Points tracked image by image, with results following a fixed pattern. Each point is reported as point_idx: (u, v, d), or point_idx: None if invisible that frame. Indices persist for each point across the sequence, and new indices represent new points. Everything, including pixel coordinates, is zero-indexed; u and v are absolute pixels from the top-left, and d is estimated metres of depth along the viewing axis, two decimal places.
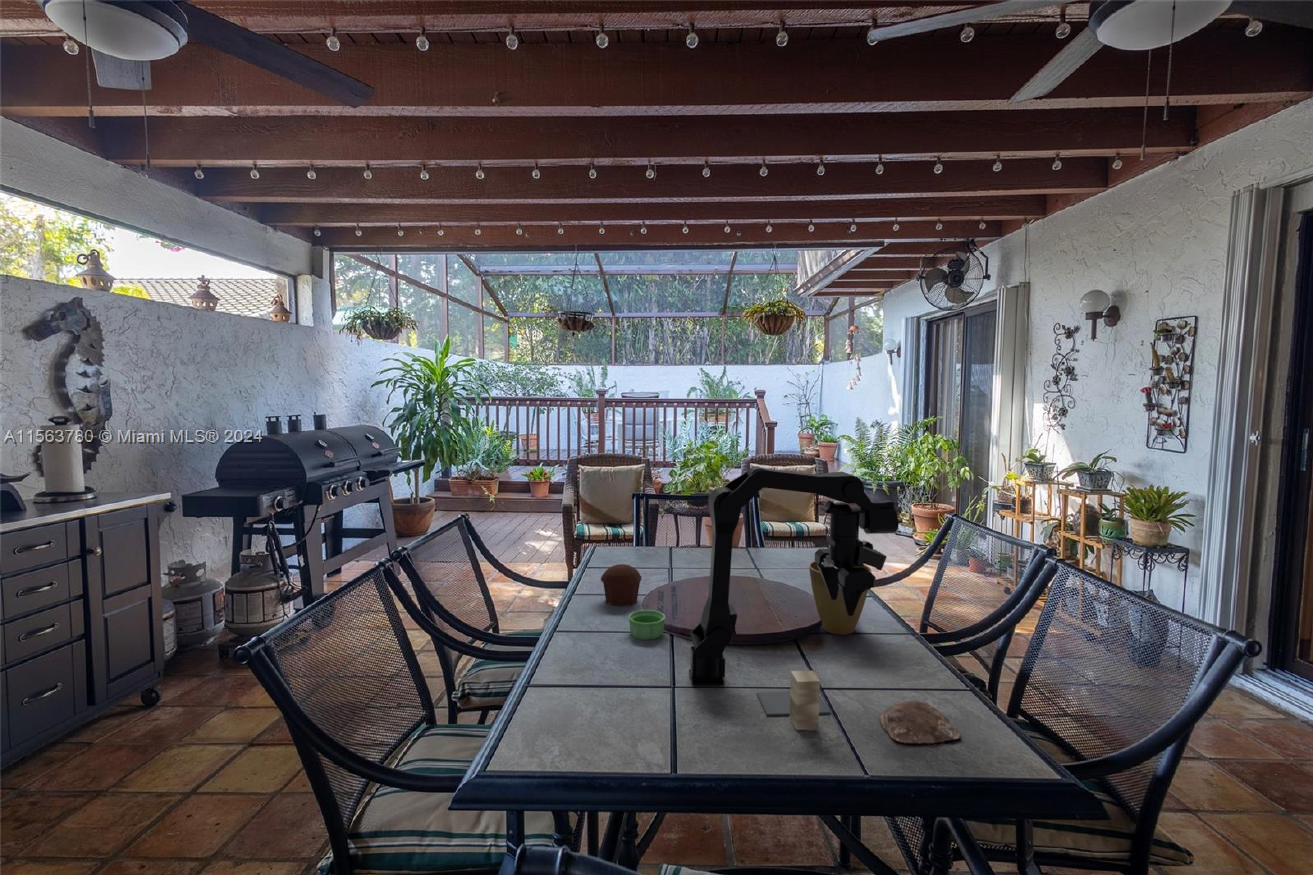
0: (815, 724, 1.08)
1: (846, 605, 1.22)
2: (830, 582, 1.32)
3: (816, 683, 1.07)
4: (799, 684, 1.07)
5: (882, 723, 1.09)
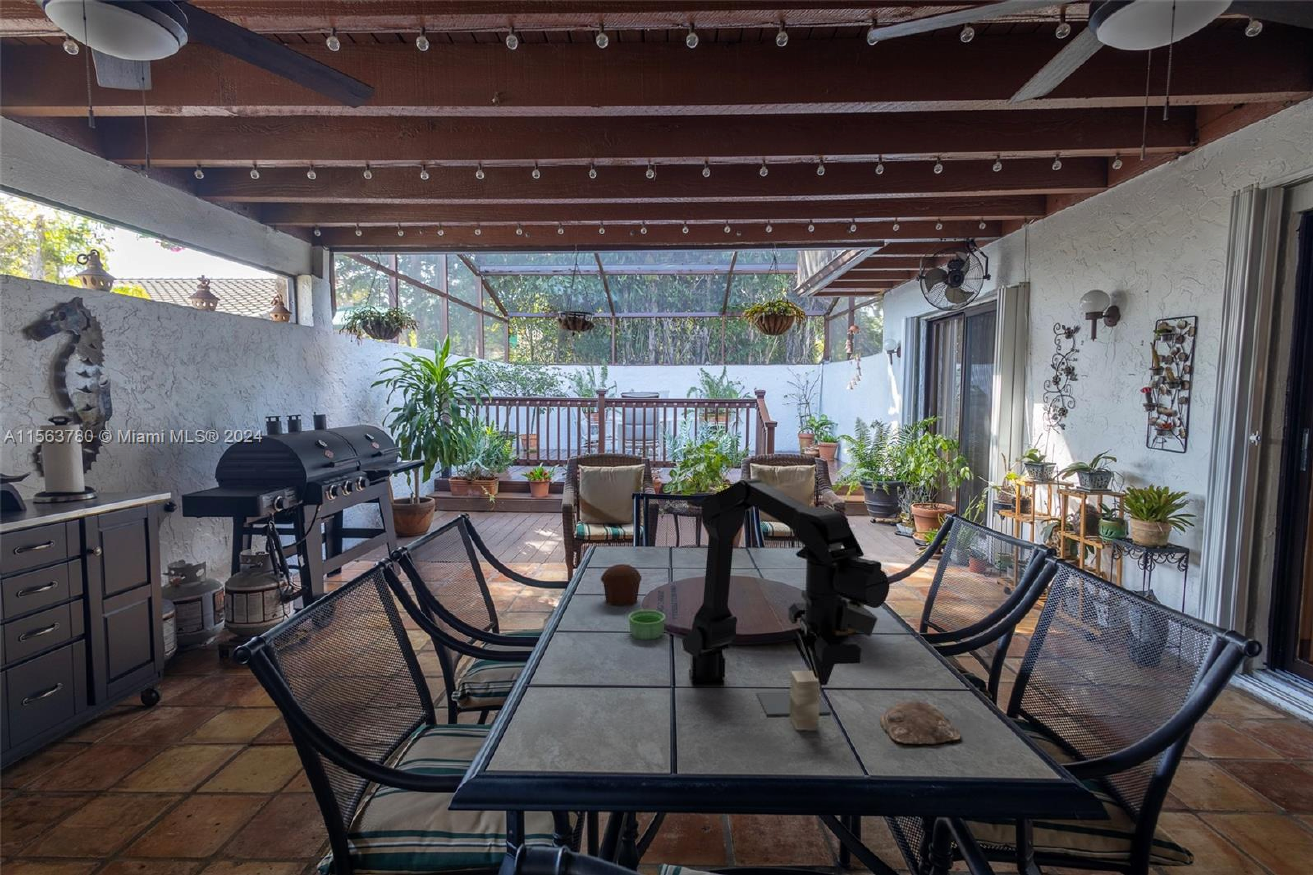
0: (815, 724, 1.08)
1: (818, 673, 0.99)
2: None
3: (816, 683, 1.07)
4: (799, 684, 1.07)
5: (882, 723, 1.09)
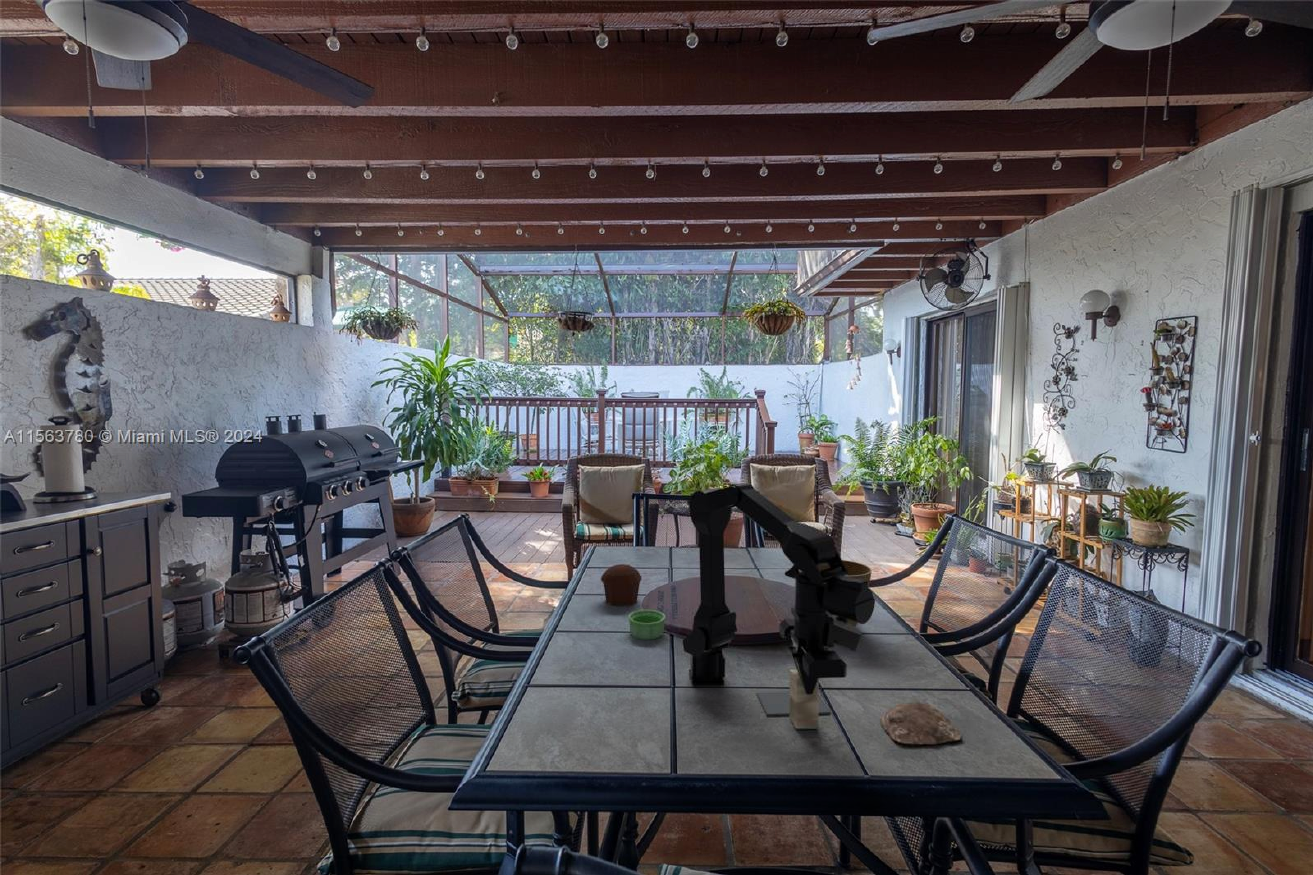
0: (815, 722, 1.08)
1: (804, 683, 1.05)
2: None
3: None
4: (798, 681, 1.08)
5: (883, 724, 1.09)
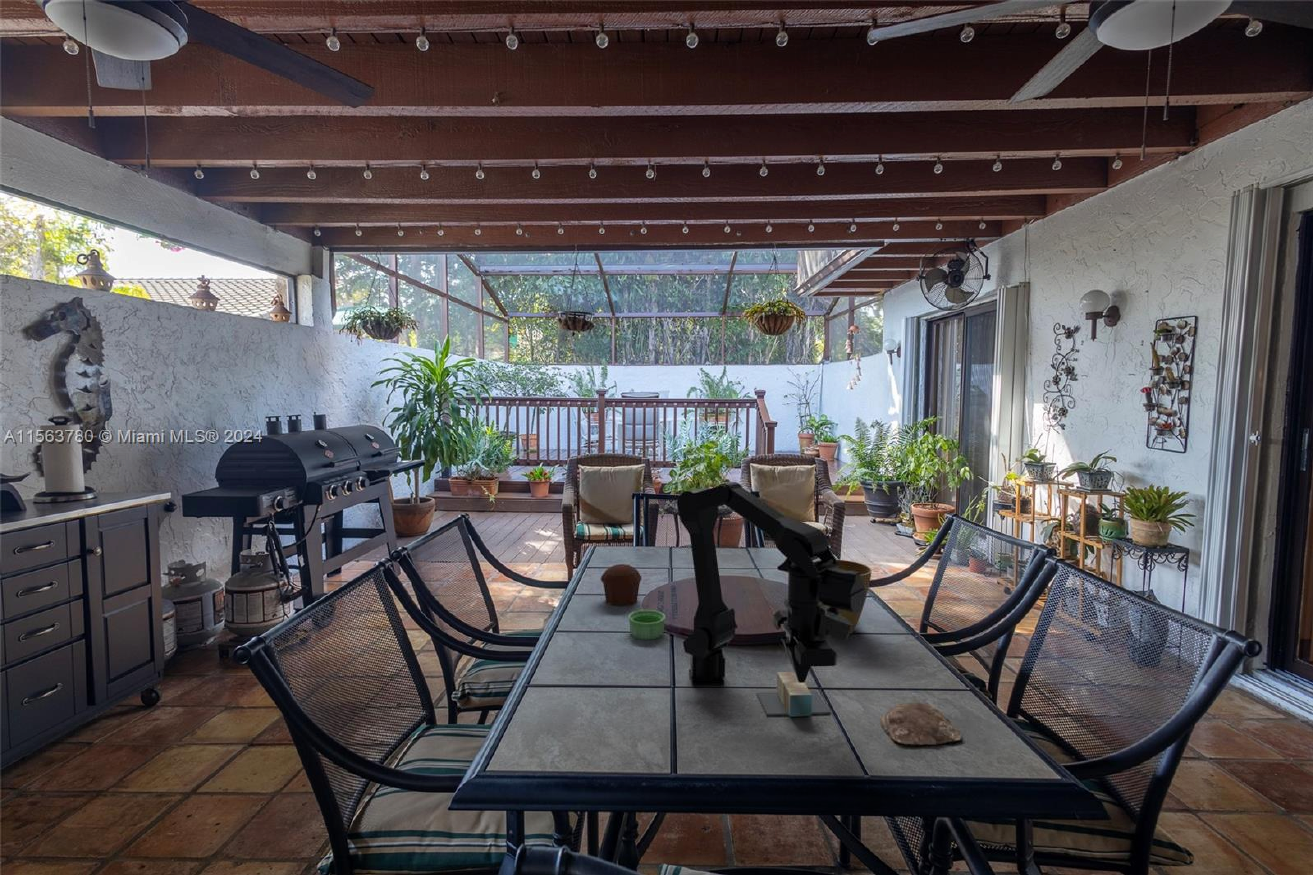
0: (807, 692, 1.13)
1: (796, 671, 1.10)
2: None
3: (794, 673, 1.20)
4: (779, 673, 1.20)
5: (883, 724, 1.09)
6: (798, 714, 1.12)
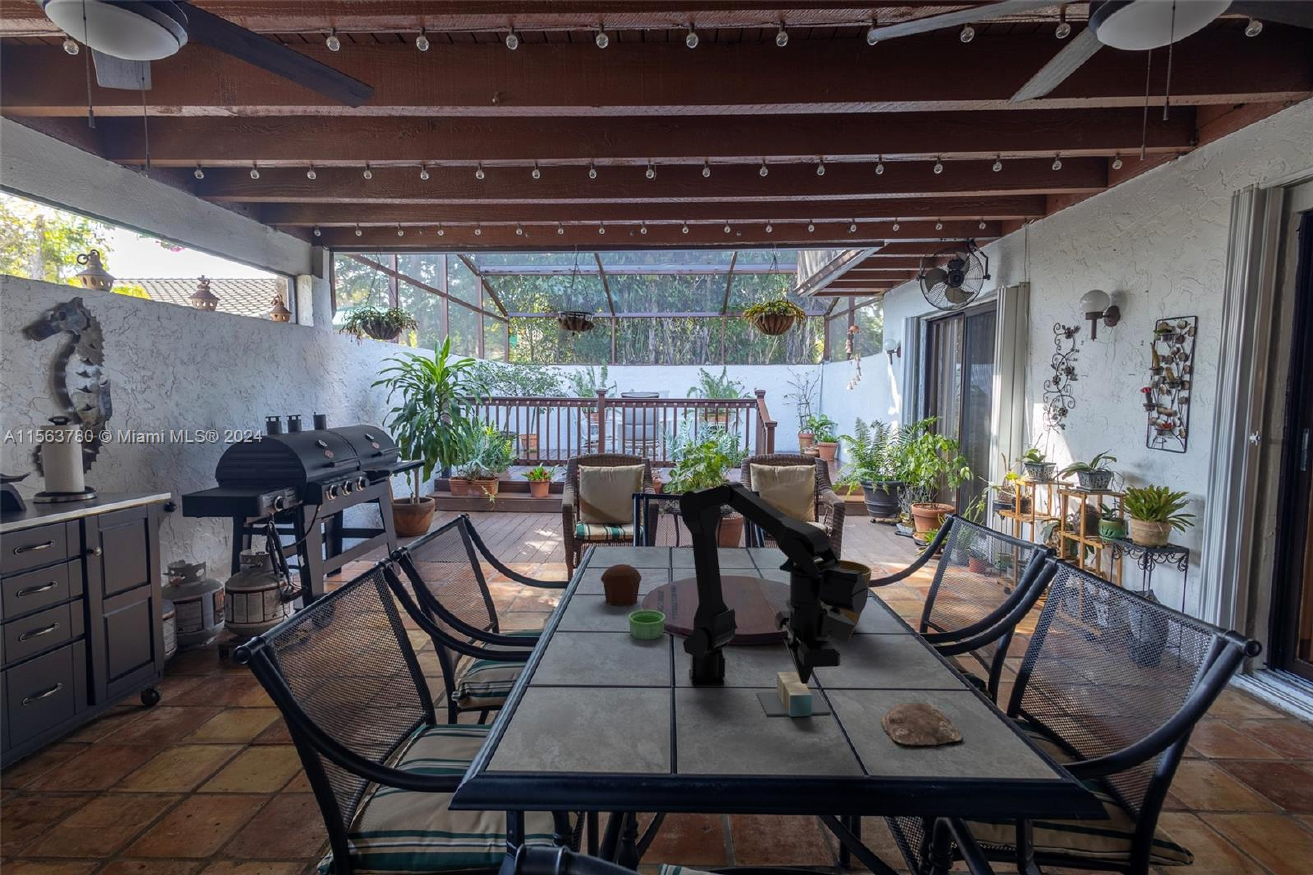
0: (807, 692, 1.13)
1: (799, 672, 1.09)
2: None
3: (794, 673, 1.20)
4: (779, 673, 1.20)
5: (884, 724, 1.09)
6: (798, 714, 1.12)
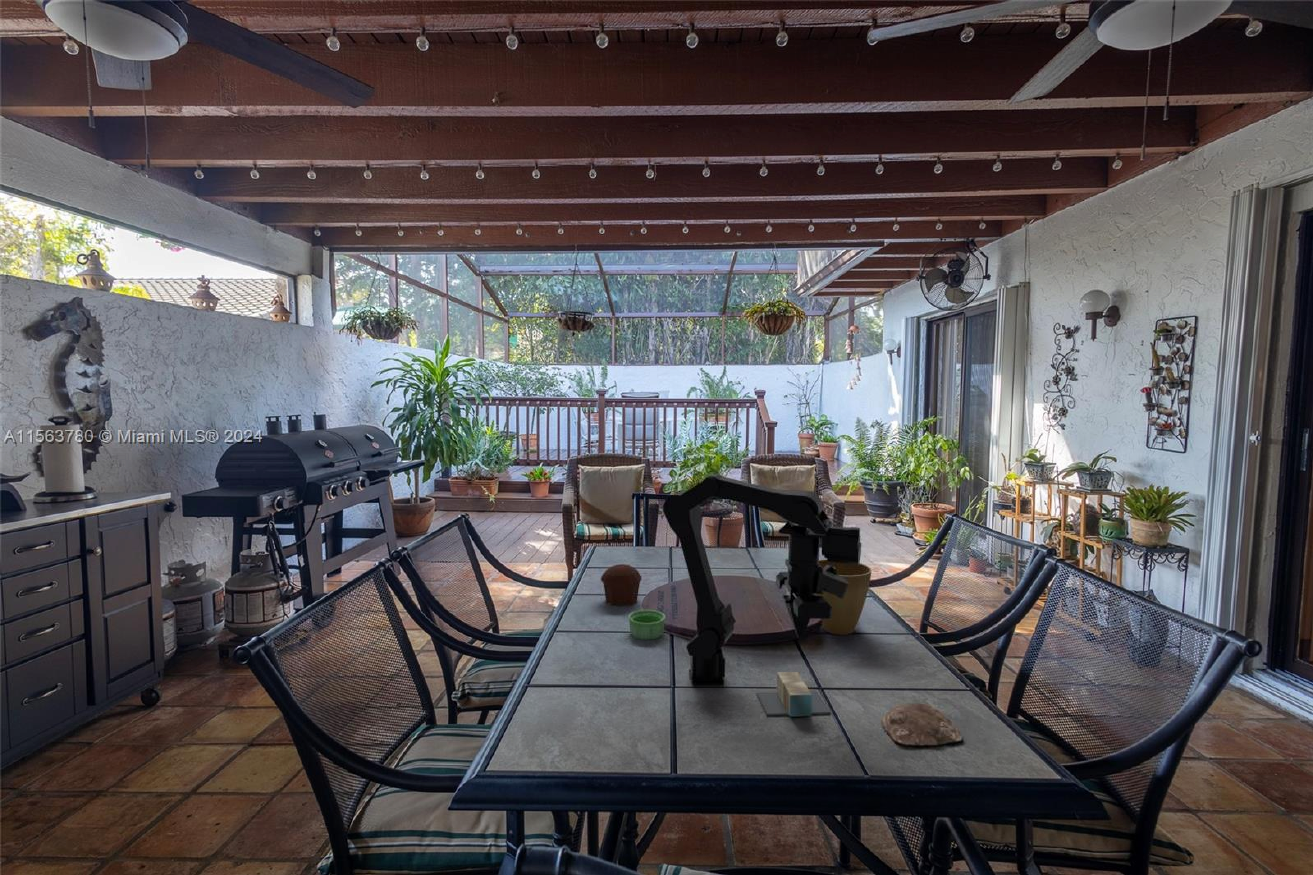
0: (807, 692, 1.13)
1: (796, 626, 1.17)
2: None
3: (794, 673, 1.20)
4: (779, 673, 1.20)
5: (884, 725, 1.09)
6: (798, 714, 1.12)
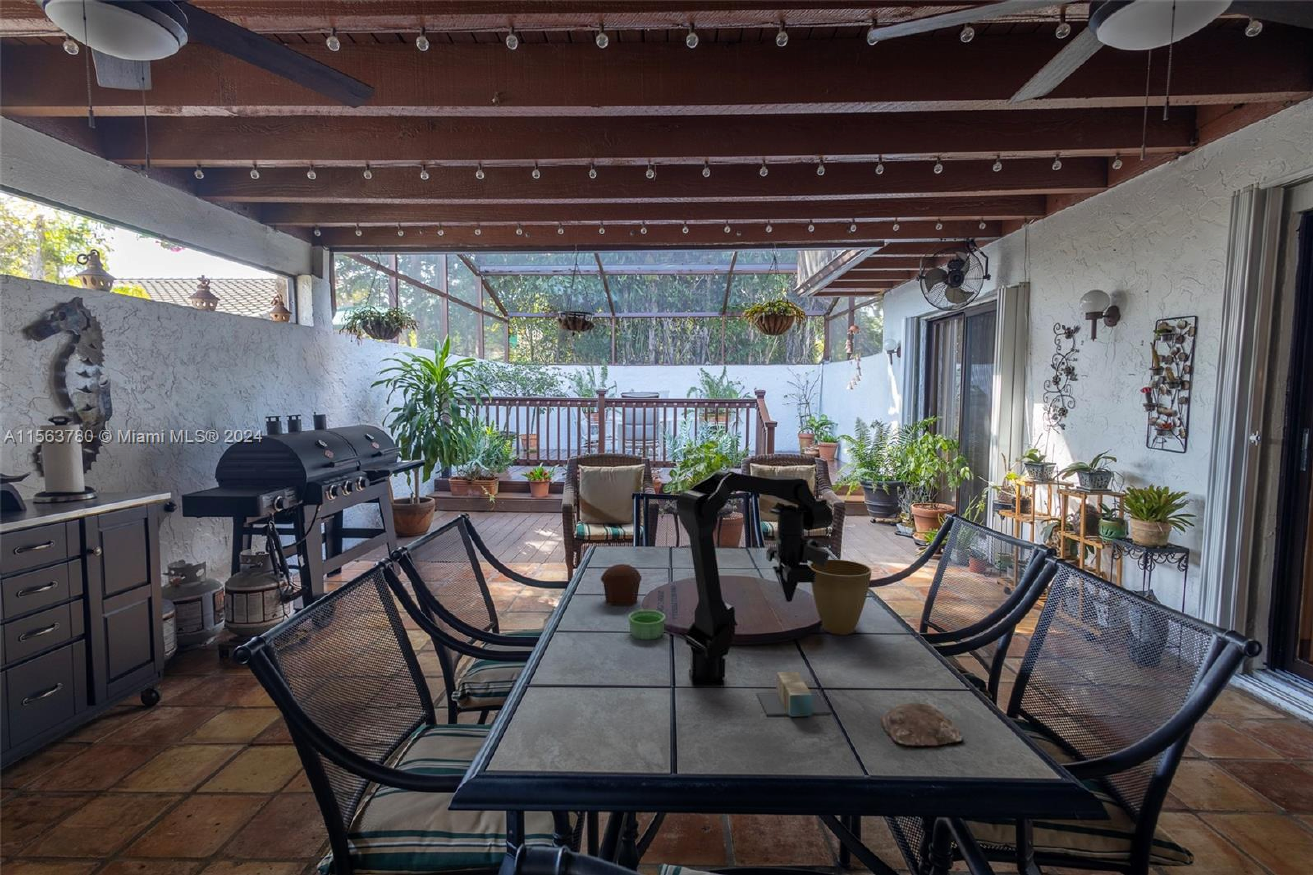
0: (807, 692, 1.13)
1: (785, 592, 1.36)
2: None
3: (794, 673, 1.20)
4: (779, 673, 1.20)
5: (884, 725, 1.09)
6: (798, 714, 1.12)
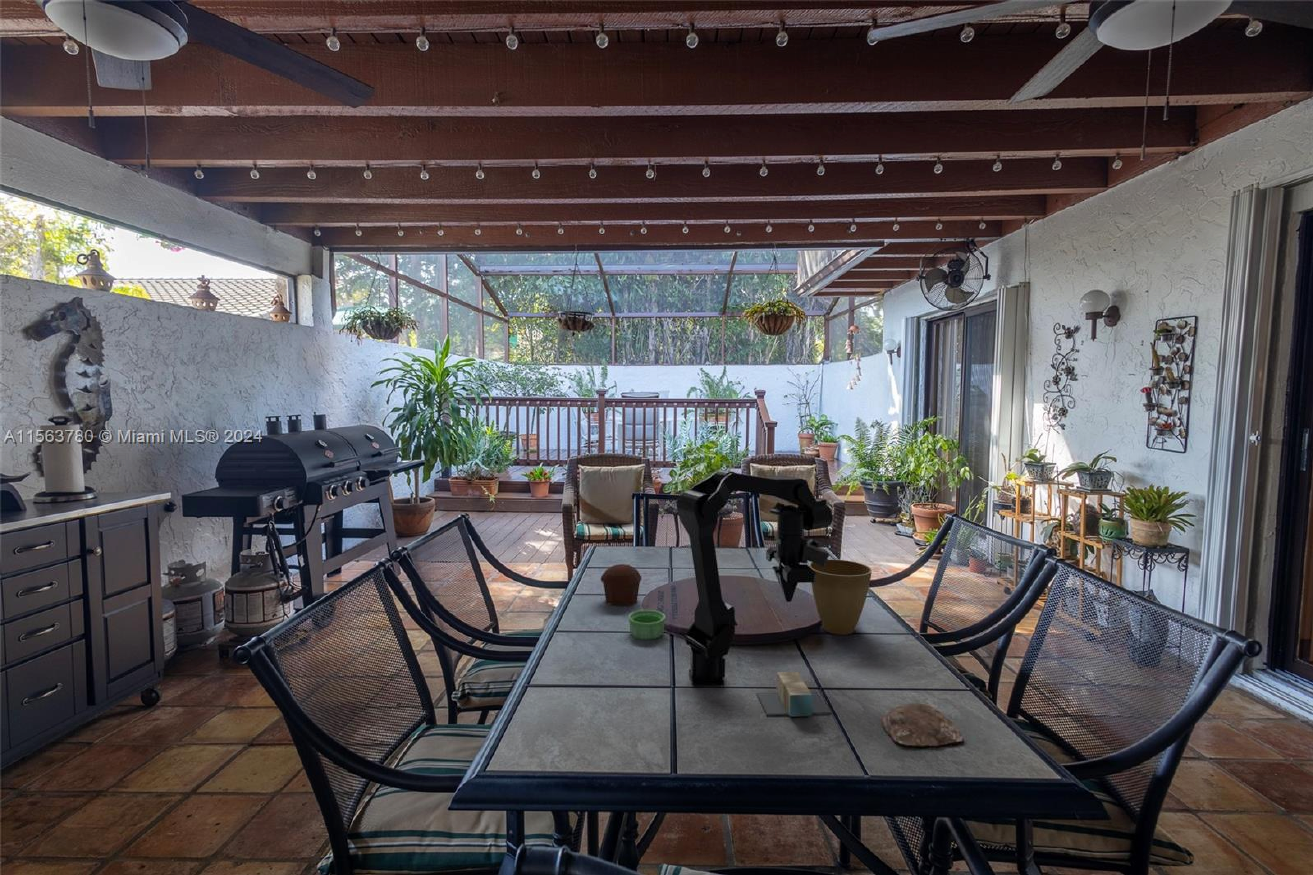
0: (807, 692, 1.13)
1: (784, 592, 1.36)
2: None
3: (794, 673, 1.20)
4: (779, 673, 1.20)
5: (884, 725, 1.09)
6: (798, 714, 1.12)
